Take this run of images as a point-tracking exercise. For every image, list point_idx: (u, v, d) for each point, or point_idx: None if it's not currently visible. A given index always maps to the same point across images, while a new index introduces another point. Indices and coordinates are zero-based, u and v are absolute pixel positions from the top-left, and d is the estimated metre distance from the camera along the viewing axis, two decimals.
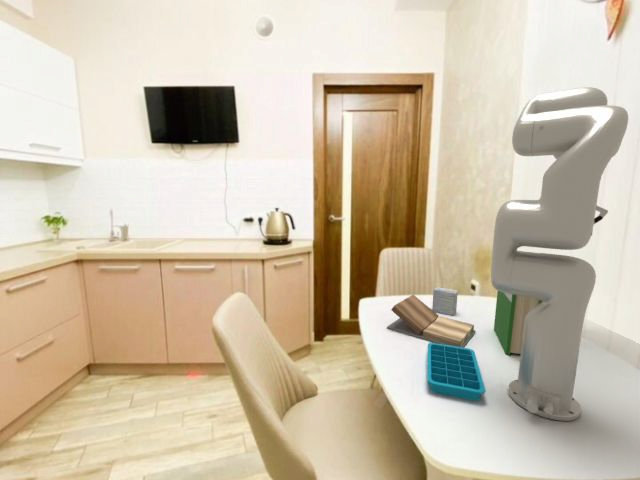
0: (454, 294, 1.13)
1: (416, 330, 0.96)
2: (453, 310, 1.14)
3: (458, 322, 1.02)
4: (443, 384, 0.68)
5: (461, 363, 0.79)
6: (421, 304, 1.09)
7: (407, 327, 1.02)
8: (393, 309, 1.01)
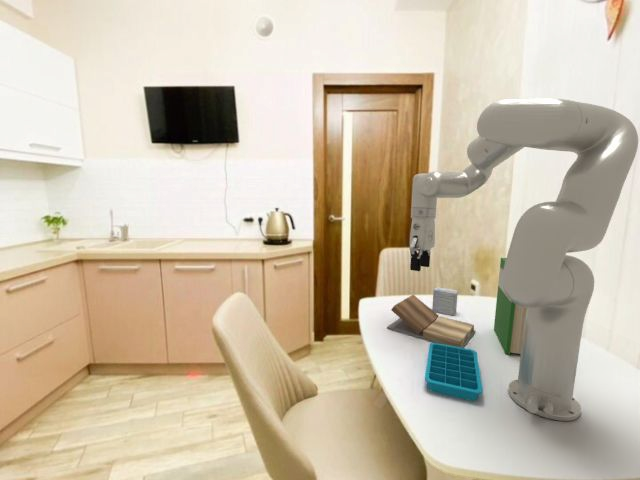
0: (454, 294, 1.13)
1: (416, 330, 0.96)
2: (453, 310, 1.14)
3: (458, 322, 1.02)
4: (440, 383, 0.69)
5: (462, 363, 0.78)
6: (421, 304, 1.09)
7: (407, 327, 1.02)
8: (393, 309, 1.01)
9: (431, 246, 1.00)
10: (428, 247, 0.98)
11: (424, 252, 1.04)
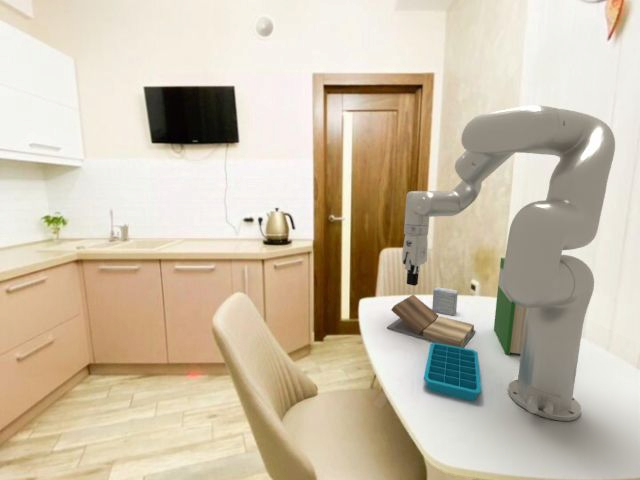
0: (454, 294, 1.13)
1: (416, 330, 0.96)
2: (453, 310, 1.14)
3: (458, 322, 1.02)
4: (439, 383, 0.69)
5: (462, 364, 0.78)
6: (421, 304, 1.09)
7: (407, 327, 1.02)
8: (393, 309, 1.01)
9: (423, 262, 1.03)
10: (420, 263, 1.00)
11: None
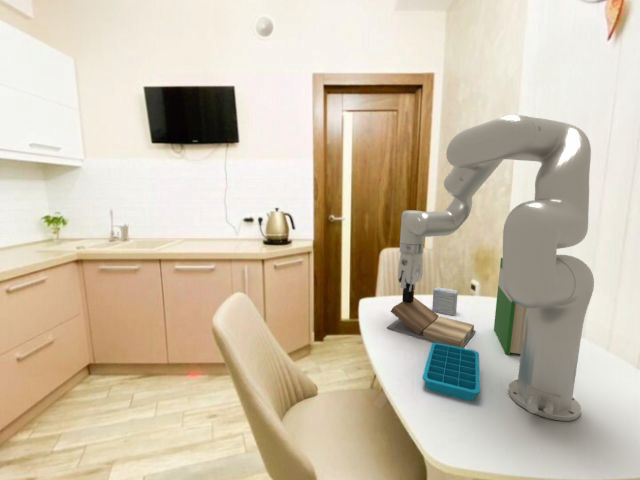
0: (454, 294, 1.13)
1: (416, 331, 0.96)
2: (453, 310, 1.14)
3: (458, 322, 1.02)
4: (437, 382, 0.69)
5: (463, 364, 0.78)
6: (421, 304, 1.09)
7: (407, 327, 1.02)
8: (392, 311, 1.01)
9: (419, 279, 1.04)
10: (415, 281, 1.02)
11: None
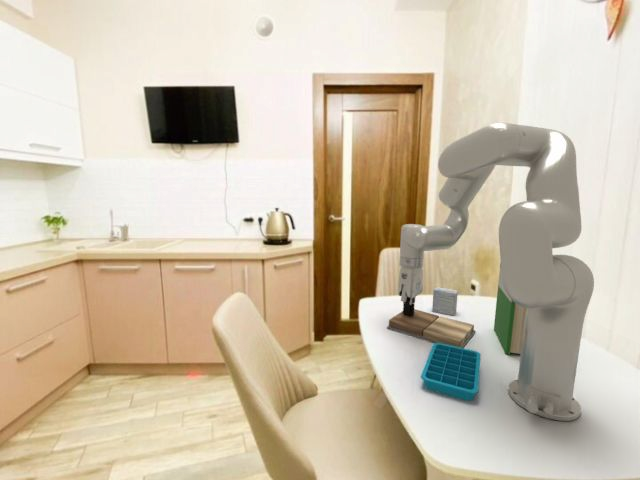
0: (454, 294, 1.13)
1: (418, 333, 0.96)
2: (453, 310, 1.14)
3: (458, 322, 1.02)
4: (435, 381, 0.69)
5: (463, 364, 0.78)
6: (418, 311, 1.10)
7: None
8: (390, 323, 1.02)
9: (419, 293, 1.05)
10: (415, 295, 1.02)
11: None
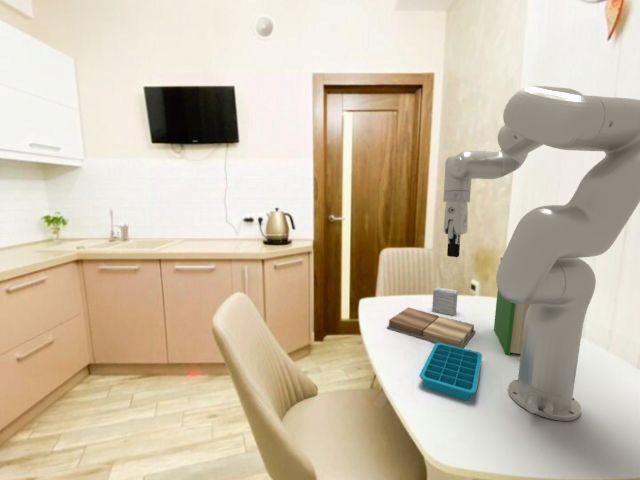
0: (454, 294, 1.13)
1: (418, 333, 0.96)
2: (453, 310, 1.14)
3: (458, 322, 1.02)
4: (433, 380, 0.69)
5: (464, 364, 0.78)
6: (418, 311, 1.10)
7: None
8: (390, 323, 1.02)
9: (465, 231, 0.97)
10: (463, 232, 0.95)
11: None
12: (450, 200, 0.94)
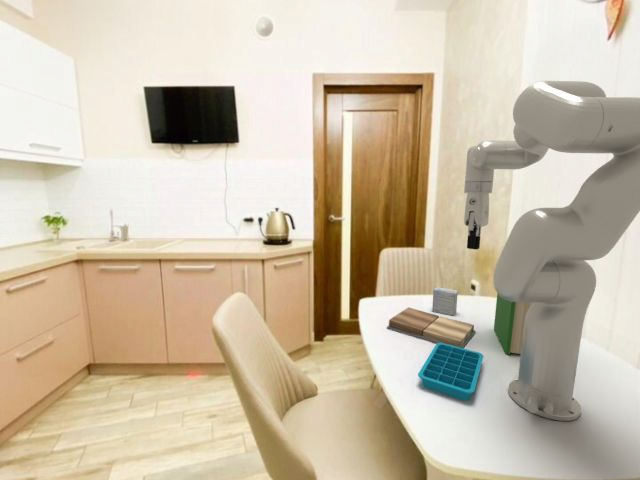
0: (454, 294, 1.13)
1: (418, 333, 0.96)
2: (453, 310, 1.14)
3: (458, 322, 1.02)
4: (432, 380, 0.70)
5: (464, 365, 0.78)
6: (418, 311, 1.10)
7: None
8: (390, 323, 1.02)
9: (486, 223, 0.95)
10: (484, 224, 0.93)
11: None
12: (471, 191, 0.92)
